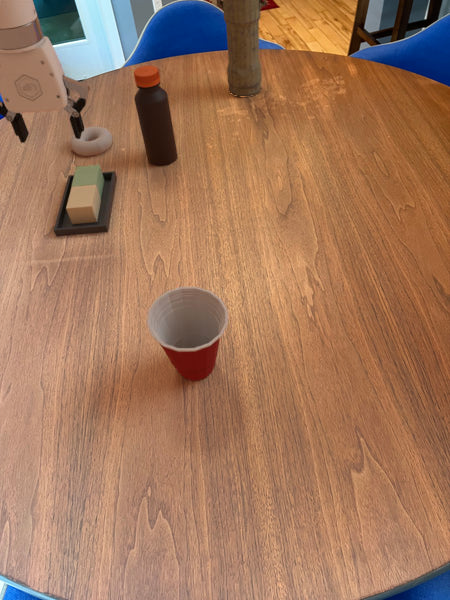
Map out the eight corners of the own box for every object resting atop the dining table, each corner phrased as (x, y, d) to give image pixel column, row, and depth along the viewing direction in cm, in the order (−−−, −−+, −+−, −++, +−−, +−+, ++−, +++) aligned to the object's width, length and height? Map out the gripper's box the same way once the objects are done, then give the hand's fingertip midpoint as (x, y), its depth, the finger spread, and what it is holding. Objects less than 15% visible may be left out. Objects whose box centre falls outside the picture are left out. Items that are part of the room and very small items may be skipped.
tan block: (72, 224, 95) (65, 208, 92) (77, 202, 100) (71, 186, 97) (97, 222, 95) (91, 205, 92) (101, 200, 99) (96, 184, 96)
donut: (93, 133, 119) (63, 152, 114) (90, 119, 116) (59, 138, 111) (123, 143, 115) (93, 163, 110) (119, 130, 112) (89, 150, 107)
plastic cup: (226, 401, 68) (220, 353, 59) (153, 392, 69) (136, 344, 60) (238, 339, 75) (234, 287, 65) (171, 332, 76) (158, 281, 67)
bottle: (149, 170, 106) (130, 81, 91) (146, 154, 111) (127, 66, 96) (179, 165, 107) (165, 75, 92) (175, 149, 111) (160, 60, 96)
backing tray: (56, 238, 93) (53, 230, 92) (71, 183, 105) (68, 175, 104) (108, 234, 93) (105, 225, 92) (117, 179, 105) (115, 170, 103)
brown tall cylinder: (222, 83, 131) (211, -76, 105) (266, 80, 131) (265, -80, 104) (222, 99, 125) (209, -65, 99) (267, 96, 125) (267, -70, 98)
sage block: (77, 202, 100) (71, 186, 97) (81, 182, 104) (76, 166, 101) (100, 200, 100) (95, 184, 96) (104, 180, 104) (99, 164, 101)
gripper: (-50, 47, 70) (-2, 151, 82) (69, 39, 69) (98, 145, 82) (-34, 27, 74) (9, 129, 87) (77, 20, 74) (103, 122, 87)
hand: (52, 136), depth 85 cm, fingers open, 9 cm apart
